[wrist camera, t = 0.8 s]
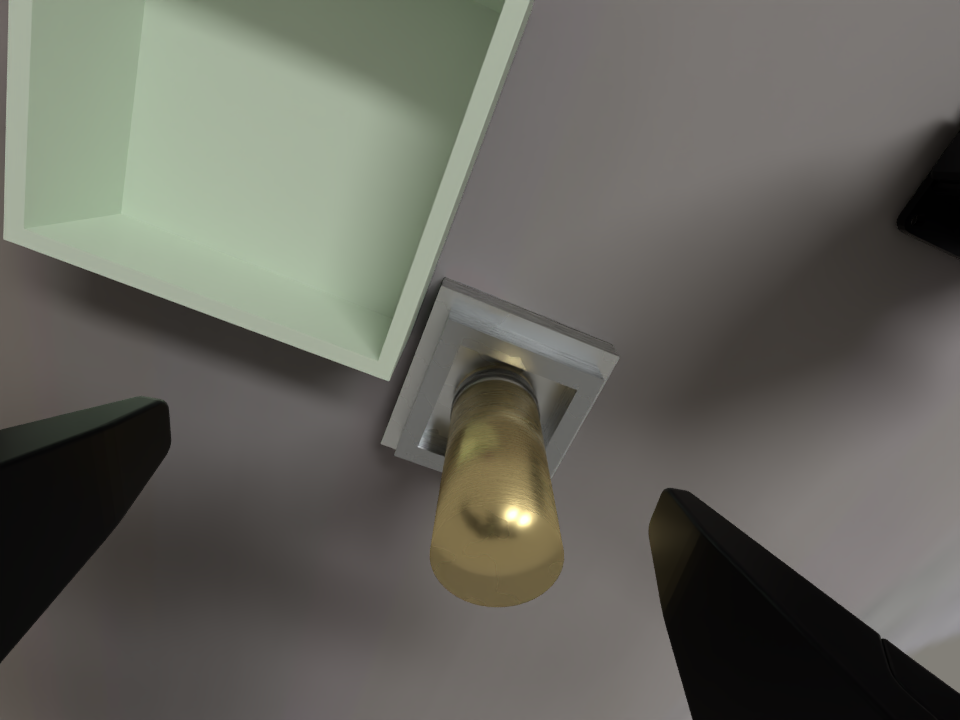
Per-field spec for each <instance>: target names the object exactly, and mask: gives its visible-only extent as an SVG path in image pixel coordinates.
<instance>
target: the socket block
mask: <svg viewBox="0 0 960 720" xmlns="http://www.w3.org/2000/svg"><path fill="white" fill-rule="evenodd" d="M619 358H620V356H619V355H618V353H617V352H616V350H615V349H614V347H613V345H612V344H609V343H607V342H604V341H602V340H599V339H597V338H594V337H592V336H590V335H587V334H585V333H582V332H580V331H577V330H575V329H572V328H570V327H567V326H565V325H562V324H560V323H557V322H555V321H552V320H550V319H547V318H545V317H542V316H540V315H537V314H535V313H533V312H530V311H528V310H525V309H523V308H520V307H518V306H515V305H513V304H510V303H508V302H505V301H503V300H500V299H498V298H495V297H493V296H490V295H488V294H485V293H483V292H481V291H478V290H476V289H473V288H471V287H468V286H466V285H463V284H461V283H458V282H456V281H453V280H451V279H448V278H446V277H445V278H444V280H443V283H442V285H441V288H440V290H439V293H438V296H437V298H436V301H435V303H434V306H433V309H432V311H431V314H430V316H429V319H428V322H427V324H426V327H425V330H424V332H423V335H422V337H421V340H420V343H419V345H418V348H417V350H416V353H415V356H414V358H413V361H412V363H411V366H410V369H409V371H408V374H407V376H406V379H405V382H404V384H403V387H402V389H401V392H400V395H399V397H398V400H397V402H396V405H395V408H394V410H393V413H392V415H391V418H390V421H389V423H388V426H387V429H386V431H385V434H384V436H383V439H382V442H381V444H382V445H385V446H388V447H391V448H393V449H396V450H395V453H394V456H396V457H399V458H402V459H405V460H408V461H411V462H413V463H416V464H419V465H422V466H425V467H428V468H431V469H433V470H436V471H439V472H443V465H444V459H445V453H446V446H447V440H448V434H449V427H450V413H451V407H452V401H453V397H454V394H455V392H456V389H457V387H458V385H459V383H460V382H461V380H462V379H463V378H464V377H465V376H466V375H467V374H469V373H470V372H472V371H473V370H475V369H477V368H480V367H483V366H488V365H502V366H507V367H510V368H513V369H515V370H517V371H519V372H520V373H521V374H523V375H524V376H525V377H526V378H527V379H528V380H529V382H530V383H531V385H532V387H533V389H534V391H535V393H536V396H537V400H538V405H539V411H540V423H541V429H542V434H543V440H544V445H545V451H546V456H547V462H548V468H549V473H550V479H552V477H553V475H554V473H555V472H556V470H557V468H558V466H559V464H560V463H561V461H562V459H563V457H564V456H565V454H566V452H567V450H568V449H569V447H570V445H571V443H572V441H573V440H574V438H575V436H576V434H577V433H578V431H579V429H580V427H581V425H582V424H583V422H584V420H585V418H586V417H587V415H588V413H589V411H590V410H591V408H592V406H593V404H594V402H595V401H596V399H597V397H598V395H599V394H600V392H601V390H602V388H603V386H604V385H605V383H606V381H607V379H608V378H609V376H610V374H611V372H612V371H613V369H614V367H615V365H616V363H617V362H618V360H619Z"/></svg>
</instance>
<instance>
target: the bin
mask: <svg viewBox="0 0 960 720" xmlns="http://www.w3.org/2000/svg"><path fill="white" fill-rule="evenodd" d="M533 3H534V0H9V16H8V60H7V105H6V149H5V194H4V238H3V239H5V240H7V241H10V242H13V243H15V244H18V245H21V246H24V247H26V248H29V249H32V250H34V251H37V252H40V253H43V254H45V255H48V256H51V257H53V258H56V259H59V260H61V261H64V262H67V263H70V264H72V265H75V266H78V267H80V268H83V269H86V270H89V271H91V272H94V273H97V274H99V275H102V276H105V277H108V278H110V279H113V280H116V281H118V282H121V283H124V284H126V285H129V286H132V287H135V288H137V289H140V290H143V291H145V292H148V293H151V294H154V295H156V296H159V297H162V298H164V299H167V300H170V301H172V302H175V303H178V304H181V305H183V306H186V307H189V308H191V309H194V310H197V311H200V312H202V313H205V314H208V315H210V316H213V317H216V318H219V319H221V320H224V321H227V322H229V323H232V324H235V325H237V326H240V327H243V328H246V329H248V330H251V331H254V332H256V333H259V334H262V335H265V336H267V337H270V338H273V339H275V340H278V341H281V342H284V343H286V344H289V345H292V346H294V347H297V348H300V349H302V350H305V351H308V352H311V353H313V354H316V355H319V356H321V357H324V358H327V359H330V360H332V361H335V362H338V363H340V364H343V365H346V366H348V367H351V368H354V369H357V370H359V371H362V372H365V373H367V374H370V375H373V376H376V377H378V378H381V379H384V380H386V381H390V378H391V376H392V374H393V372H394V370H395V367H396V365H397V363H398V361H399V359H400V356H401V354H402V352H403V350H404V348H405V346H406V343H407V341H408V339H409V337H410V335H411V332H412V329H413V327H414V324H415V321H416V319H417V316H418V313H419V311H420V308H421V305H422V303H423V300H424V297H425V295H426V292H427V289H428V287H429V284H430V281H431V279H432V276H433V273H434V271H435V268H436V265H437V263H438V260H439V257H440V254H441V252H442V249H443V246H444V244H445V241H446V238H447V236H448V233H449V230H450V228H451V225H452V222H453V220H454V217H455V214H456V212H457V209H458V206H459V204H460V201H461V198H462V196H463V193H464V190H465V188H466V185H467V182H468V180H469V177H470V174H471V171H472V169H473V166H474V163H475V161H476V158H477V155H478V153H479V150H480V147H481V145H482V142H483V139H484V137H485V134H486V131H487V129H488V126H489V123H490V121H491V118H492V115H493V113H494V110H495V107H496V105H497V102H498V99H499V97H500V94H501V91H502V88H503V86H504V83H505V80H506V78H507V75H508V72H509V70H510V67H511V64H512V62H513V59H514V56H515V54H516V51H517V48H518V46H519V43H520V40H521V38H522V35H523V32H524V30H525V27H526V24H527V22H528V19H529V16H530V14H531V11H532V7H533Z"/></svg>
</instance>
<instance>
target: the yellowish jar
mask: <svg viewBox="0 0 960 720" xmlns="http://www.w3.org/2000/svg"><path fill="white" fill-rule="evenodd" d="M430 562H431V566H432V570H433V572H434V574H435V576H436V578H437V579H438V580H439V582H440V583H441V584H442V585H443V586H444V587H445V588H446V589H447V590H448V591H449V592H450V593H452V594H453V595H455V596H457V597H458V598H460V599H462V600H464V601H467V602H470V603H473V604H476V605H481V606H487V607H508V606H514V605H519V604H522V603H525V602H528V601H530V600H533V599H535V598H537V597H538V596H540V595H541V594H543V593H544V592H545V591H547V590H548V589H549V588H550V587H551V586H552V585H553V584H554V582H555V581H556V580H557V578H558V576H559V575H560V573H561V570H562V567H563V562H564V550H563V545H562V539H561V534H560V528H559V523H558V517H557V512H556V506H555V501H554V495H553V490H552V484H551V479H550V473H549V468H548V462H547V456H546V451H545V445H544V440H543V434H542V429H541V423H540V411H539V405H538V400H537V396H536V393H535V391H534V389H533V387H532V385H531V383H530V382H529V380H528V379H527V378H526V377H525V376H524V375H523V374H521V373H520V372H519V371H517V370H515V369H513V368H510V367H507V366H502V365H488V366H483V367H480V368H477V369H475V370H473V371H472V372H470V373H469V374H467V375H466V376H465V377H464V378H463V379H462V380H461V382H460V383H459V385H458V387H457V389H456V392H455V394H454V397H453V401H452V407H451V413H450V427H449V434H448V440H447V446H446V453H445V459H444V465H443V472H442V478H441V484H440V491H439V497H438V503H437V510H436V516H435V522H434V529H433V535H432V541H431V548H430Z"/></svg>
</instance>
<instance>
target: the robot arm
mask: <svg viewBox="0 0 960 720" xmlns="http://www.w3.org/2000/svg"><path fill="white" fill-rule="evenodd" d="M916 215H917V220H916V222H915V223H914V224H913V225H911V221H912V219H913V218H914V217H915V216H916ZM897 227H898V229H899V230H900V231H901V232H903V233H905V234H907V235H909V236H911V237H914V238H916V239H918V240H920V241H922V242H924V243H926V244H928V245H930V246H932V247H935V248H937V249H939V250H941V251H943V252H945V253H947V254H949V255H951V256H953V257H956V258H958V259H960V131H959V133H958V134H957V135H956V137H955V138H954V140H953V141H952V142H951V144H950V145H949V147H948V148H947V149H946V151H945V152H944V154H943V155H942V156H941V158H940V159H939V160H938V162H937V163H936V165H935V166H934V167H933V169H932V171H931V172H930V173H929V175H928V176H927V178H926V179H925V180H924V182H923V183H922V184H921V186H920V187H919V189H918V190H917V191H916V193H915V194H914V196H913V197H912V198H911V200H910V201H909V203H908V204H907V205H906V207H905V208H904V210H903V211H902V212H901V214H900V215H899V217H898V219H897ZM170 445H171V431H170V417H169V407H168V405H167V403H166V402H165V401H164V400H161V399H156V398H150V397H144V396H138V397H134V398H130V399H126V400H121V401H117V402H113V403H109V404H105V405H101V406H97V407H93V408H89V409H84V410H80V411H76V412H72V413H68V414H64V415H60V416H56V417H51V418H47V419H43V420H39V421H35V422H31V423H27V424H23V425H18V426H14V427H10V428H6V429H2V430H0V663H1V662H2V661H3V659H4V658H5V657H6V656H7V655H8V654H9V652H10V651H11V650H12V649H13V648H14V647H15V645H16V644H17V643H18V642H19V641H20V640H21V638H22V637H23V636H24V635H25V634H26V632H27V631H28V630H29V629H30V628H31V627H32V625H33V624H34V623H35V622H36V621H37V620H38V618H39V617H40V616H41V615H42V614H43V613H44V611H45V610H46V609H47V608H48V607H49V605H50V604H51V603H52V602H53V601H54V600H55V598H56V597H57V596H58V595H59V594H60V593H61V591H62V590H63V589H64V588H65V587H66V586H67V584H68V583H69V582H70V581H71V580H72V579H73V577H74V576H75V575H76V574H77V573H78V571H79V570H80V569H81V568H82V567H83V566H84V564H85V563H86V562H87V561H88V560H89V559H90V557H91V556H92V555H93V554H94V553H95V552H96V550H97V549H98V548H99V547H100V546H101V544H102V543H103V542H104V541H105V540H106V539H107V537H108V536H109V535H110V534H111V532H112V531H113V530H114V529H115V527H116V526H117V525H118V524H119V522H120V521H121V520H122V518H123V517H124V515H125V514H126V513H127V511H128V510H129V508H130V507H131V505H132V504H133V503H134V501H135V500H136V498H137V497H138V495H139V494H140V492H141V491H142V490H143V488H144V487H145V485H146V484H147V482H148V481H149V479H150V478H151V477H152V475H153V474H154V472H155V471H156V469H157V468H158V466H159V465H160V464H161V462H162V461H163V459H164V458H165V456H166V455H167V453H168V451H169V448H170ZM649 540H650V546H651V551H652V557H653V563H654V569H655V574H656V580H657V586H658V592H659V597H660V603H661V608H662V612H663V617H664V621H665V624H666V628H667V632H668V635H669V639H670V642H671V646H672V649H673V653H674V656H675V660H676V663H677V667H678V670H679V674H680V677H681V681H682V684H683V688H684V691H685V695H686V698H687V702H688V705H689V709H690V712H691V716H692V719H693V720H960V693H958V692H957V691H955V690H954V689H953V688H951V687H950V686H948V685H947V684H946V683H944V682H943V681H942V680H940V679H939V678H937V677H936V676H935V675H934V674H932V673H931V672H929V671H928V670H926V669H925V668H924V667H923V666H921V665H920V664H919V663H917V662H916V661H914V660H913V659H912V658H910V657H909V656H908V655H906V654H905V653H904V652H902V651H901V650H900V649H898V648H897V647H896V646H894V645H893V644H892V643H891V642H889V641H888V640H886V639H881V637H880V635H879V634H878V633H877V632H876V631H874V630H873V629H872V628H870V627H869V626H868V625H866V624H865V623H864V622H862V621H861V620H860V619H858V618H857V617H856V616H854V615H853V614H852V613H850V612H849V611H848V610H846V609H845V608H844V607H842V606H841V605H840V604H838V603H837V602H836V601H834V600H833V599H832V598H830V597H829V596H828V595H826V594H825V593H824V592H822V591H821V590H820V589H818V588H817V587H816V586H814V585H813V584H812V583H810V582H809V581H808V580H806V579H805V578H804V577H802V576H801V575H800V574H798V573H797V572H796V571H794V570H793V569H792V568H790V567H789V566H788V565H786V564H785V563H784V562H782V561H781V560H780V559H778V558H777V557H776V556H774V555H773V554H772V553H770V552H769V551H768V550H766V549H765V548H764V547H762V546H761V545H760V544H758V543H757V542H756V541H754V540H753V539H752V538H750V537H749V536H748V535H746V534H745V533H744V532H742V531H741V530H740V529H739V528H737V527H736V526H735V525H733V524H732V523H731V522H729V521H728V520H727V519H725V518H724V517H723V516H721V515H720V514H719V513H717V512H716V511H715V510H713V509H712V508H711V507H709V506H708V505H707V504H705V503H704V502H703V501H701V500H700V499H699V498H697V497H696V496H695V495H693V494H692V493H690V492H689V491H686V490H680V489H674V488H667V489H665V490H664V491H663V492H662V494H661V496H660V498H659V501H658V503H657V506H656V508H655V511H654V513H653V516H652V518H651V521H650V524H649Z"/></svg>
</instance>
